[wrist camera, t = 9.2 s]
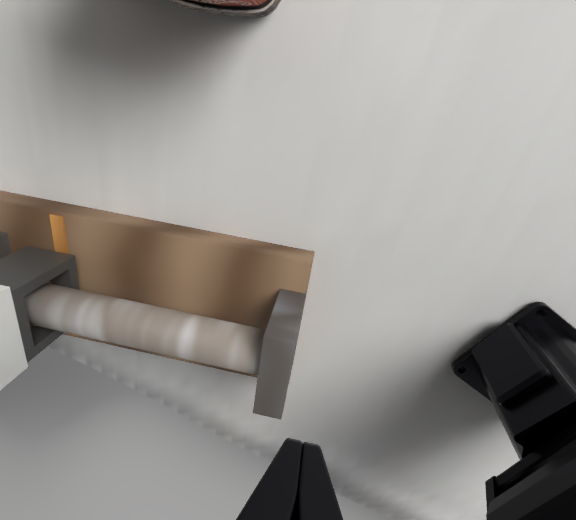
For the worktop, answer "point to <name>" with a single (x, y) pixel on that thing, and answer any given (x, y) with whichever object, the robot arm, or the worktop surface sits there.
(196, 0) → the lighter
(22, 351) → the white slider block
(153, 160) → the worktop surface
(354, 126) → the worktop surface
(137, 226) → the pipe stand
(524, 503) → the robot arm
